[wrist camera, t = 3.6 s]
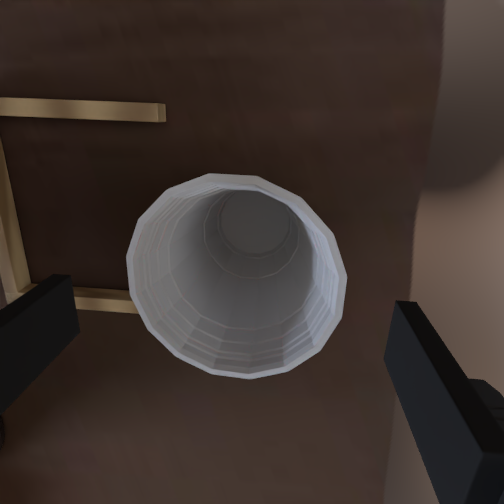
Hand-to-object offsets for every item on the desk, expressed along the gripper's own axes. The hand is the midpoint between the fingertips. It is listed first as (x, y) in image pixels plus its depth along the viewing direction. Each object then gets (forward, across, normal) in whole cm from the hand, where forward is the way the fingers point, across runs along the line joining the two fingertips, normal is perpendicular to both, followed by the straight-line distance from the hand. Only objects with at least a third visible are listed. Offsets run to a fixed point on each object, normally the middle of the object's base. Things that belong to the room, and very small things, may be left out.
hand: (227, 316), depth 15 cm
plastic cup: (+15, 0, 0) cm, 15 cm away
